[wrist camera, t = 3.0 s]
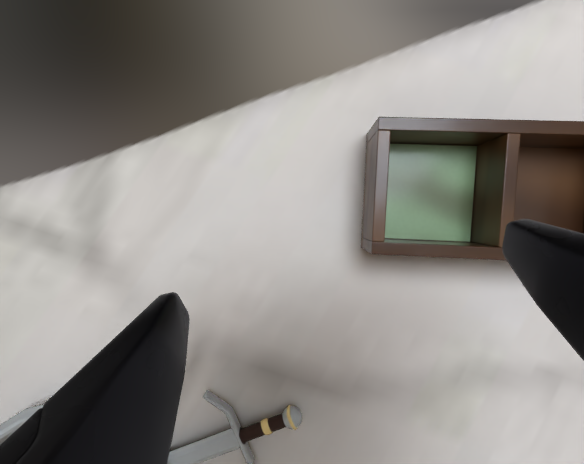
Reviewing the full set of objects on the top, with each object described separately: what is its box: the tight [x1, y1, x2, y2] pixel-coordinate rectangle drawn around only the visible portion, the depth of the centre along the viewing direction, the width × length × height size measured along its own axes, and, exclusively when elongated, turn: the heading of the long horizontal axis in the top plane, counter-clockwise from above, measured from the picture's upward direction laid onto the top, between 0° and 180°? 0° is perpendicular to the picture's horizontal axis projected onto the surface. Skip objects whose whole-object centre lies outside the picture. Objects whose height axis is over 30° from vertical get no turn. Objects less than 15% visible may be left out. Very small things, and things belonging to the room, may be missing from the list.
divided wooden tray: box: [361, 117, 584, 260], centre depth 21 cm, size 9×16×4 cm, turn 88°
